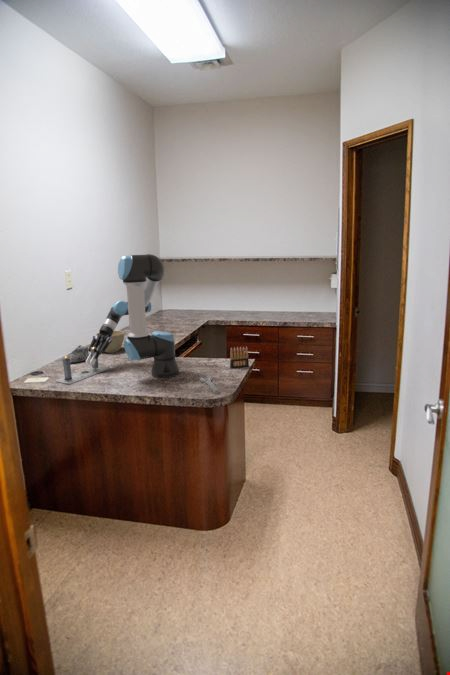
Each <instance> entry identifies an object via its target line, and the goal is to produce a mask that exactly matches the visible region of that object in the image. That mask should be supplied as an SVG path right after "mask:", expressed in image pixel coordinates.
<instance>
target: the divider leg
mask: <svg viewBox="0 0 450 675" xmlns="http://www.w3.org/2000/svg"><path fill="white" fill-rule="evenodd" d="M97 350H98V348H97V349H96V347H91V359H92V357H93V355H94V353H95V352H96V351H97ZM96 353H97V352H96ZM98 365H99V358H98V359H96V361H95V363H94V365H92V364H91V367H92V368H94V369H96V368H99V367H98Z"/></svg>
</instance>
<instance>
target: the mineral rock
mask: <svg viewBox="0 0 450 675" xmlns="http://www.w3.org/2000/svg"><path fill="white" fill-rule="evenodd" d="M88 349H89V347H88V346H87V345H81V344H79V345H77V346H76V348H75V349H73V351H71V352H70V354H68V356H69V358H70V363H80V362H83V361H86V360H87V358H88V355H89V353H90V352H89V351H88Z"/></svg>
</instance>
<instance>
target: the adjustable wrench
mask: <svg viewBox="0 0 450 675" xmlns="http://www.w3.org/2000/svg"><path fill="white" fill-rule="evenodd" d="M211 380H212V381H213V377H212V376H210V375H205V378H204V377H202V376H201V377H200V378H199V382H200V383H203V382H205V383H204V384H206V383H207V384H208V385H207V384H206V385H207V386H208V388H211V389H212V390H211V389H210V390H211V391H212V393H213V394H214V393H216V394H215V395H218V394H217V393H219V394H221V392H220V390H219V389H218V388H217V386H216V385H215V384H214V383H213V382H212V381H211Z"/></svg>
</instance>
